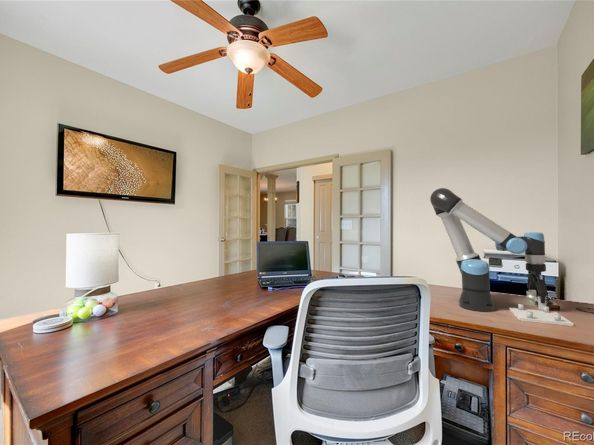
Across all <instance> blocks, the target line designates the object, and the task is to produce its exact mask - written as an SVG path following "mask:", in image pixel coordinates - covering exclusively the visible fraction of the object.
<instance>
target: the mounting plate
mask: <svg viewBox="0 0 594 445" xmlns="http://www.w3.org/2000/svg"><path fill="white" fill-rule="evenodd" d="M517 304H518V305H517V308H516V307H509V311H510V312H511V313H512V314H513V315H514V316H515V317H516V318H517V319H518V320H519V321H522V322H529V323H530V322H532V323H542V324H547V325H548V324H550V325H561V326H569V327H574V323H573V322H572V321H570V320H569V319H567V318H566V317H564V316H562V315H561V314H560V313H558V312H557V311H552V310H551V311H550V309H549V307H548V306H547V305H546V306H543V310H539V309H528V308H525V306H524V303H517Z"/></svg>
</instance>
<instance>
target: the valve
mask: <svg viewBox="0 0 594 445" xmlns="http://www.w3.org/2000/svg"><path fill="white" fill-rule="evenodd" d="M525 299H526V304H528V305H529V306H530V305H531V306H537V307H536V308H538V296H537V291H536V292H535V291H529V290H526V296H525ZM546 303H547V304H546V306H548V307H549V310H551V309H552V307H551V306H552V305H553V304H554V303H553V301H552V302H551V298H549V297H546ZM550 305H551V306H550Z"/></svg>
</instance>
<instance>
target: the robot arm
mask: <svg viewBox="0 0 594 445" xmlns="http://www.w3.org/2000/svg"><path fill="white" fill-rule="evenodd" d="M429 201H430V203H431V205H432V207H433V208H432V209H433V210H434V212H435V215H436V216H437V217H438V218H440V219H441V221H442V225H443V226H444V228H445V230H446V233H447V236H448V238H449V240H450V242H451V245H452V247H453V249H454V252H455V254H456V256H457V257H456V259H455V262H456V265H457V267H458V269H459V272H460V274H461V288H462V290H461V293H460V295H459V296H460V297H459V299H458V306H459V307H461V308H463V309H466V310H471V311H476V312H493V311H495V310H496V304H495V302H494V299H493V297H492V294H491V287H490V286H491V285H490V283H491V282H490V280H491V279H490V265H489V262H488V261H485V260H482V259H481V256H480V254H479V253H476V252H475V251H474V248H473V246H472V243H471V241H470V239H469V237H468V234H467V232H466V229H465V227H464V225H463V223H462V221H463V222H464V223H465V224H467V225H469V226H470V227H472V228H473V229H475V230H476V231H478V232H479V233H481V234H482V235H484V236H485V237H487V238H489V239H490V240H491V241H493V242H494V244H495V250H496V251H498V252H499V251H501V252H509V253H510V254H512V255H513V254H514V255H516V254H517V255H520V254H522V253H524V259H525V260H524V261H525V262H526V263H525V270H526V271H527V274H528V275H527V281H526V282H527V283H526V287H527V289H528V291H535V292H536V293H538V294H536V297H538V304H537V306H538V307H537V309H538V310H541V311H543V306H547V301H546V299H547V297H548V296H549V294H548V289H547V284H546V279H545V278H546V277H545V275H544V274H542V272H546V271H547V266H546V259H547V256H546V245H545V244H546V240H545V234H544V233H543V232H538V231H537V232H532V231H531V232H524V234H523V236H517V235H515V234H514V233H512V232H510V231H509V230H507V229H506V228H504V227H503V226H501V225H500V224H498V223H496V222H495V221H493V220H491V219H490V218H489V217H487V216H485V215H484V214H482V213H481V212H479V211H478V210H476V209H474V208H473V207H471V206H469V205H468V204H466V203H465V202H463V199H462V198H461V197H460V196H458V195H456V194H455V193H454V192H453V191H451V189H448V188H446V187H445V188H444V187H441V188H437V189H435V190H434V191H433V192H432V193H431V195H430V200H429Z"/></svg>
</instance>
